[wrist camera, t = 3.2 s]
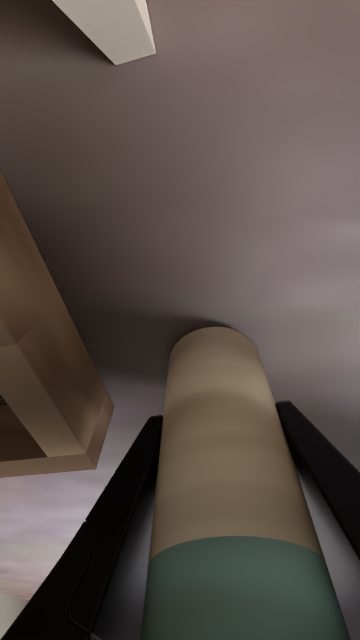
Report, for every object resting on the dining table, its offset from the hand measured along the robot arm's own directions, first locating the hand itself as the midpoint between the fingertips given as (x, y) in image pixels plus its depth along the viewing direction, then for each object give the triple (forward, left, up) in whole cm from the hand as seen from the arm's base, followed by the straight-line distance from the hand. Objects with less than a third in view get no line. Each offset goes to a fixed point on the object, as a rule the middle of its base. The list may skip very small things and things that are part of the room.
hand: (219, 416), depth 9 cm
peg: (0, 0, -3) cm, 3 cm away
